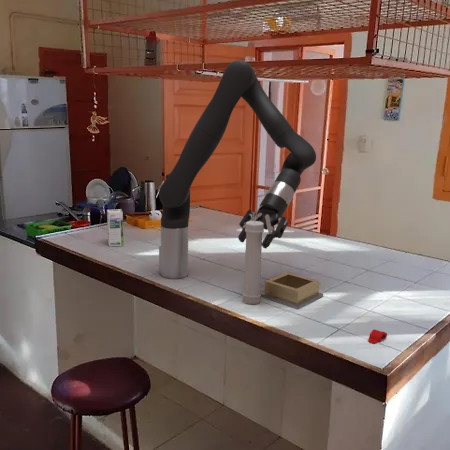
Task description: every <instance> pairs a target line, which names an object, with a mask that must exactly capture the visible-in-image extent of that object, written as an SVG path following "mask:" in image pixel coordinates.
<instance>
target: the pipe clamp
mask: <svg viewBox="0 0 450 450" xmlns="http://www.w3.org/2000/svg"><path fill="white" fill-rule="evenodd" d="M387 336H388V333H387V332H385V331H380V330H378V329H372V330H371V331H370V333H369V336H368V339H367V342H368V343H369V344H370V345H371V344H372V345H377V344H379V343H381V340H382V338H385V339H386V338H387Z"/></svg>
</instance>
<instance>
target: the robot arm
mask: <svg viewBox="0 0 450 450" xmlns="http://www.w3.org/2000/svg"><path fill="white" fill-rule="evenodd" d="M220 78H221V79H220V81H219V83H218V84H217V85H218V86H217V88H216V90H215V92H214V94H213V97H212V98H211V100H210V101H209V103H208V104H207V106H206V107H205V109H204V111H202V114H201V115H200V117H199V118H198V121H197V122H196V124H195V125H194V127H193V129H192V130H191V133H190V134H189V136H188V139H187V140H186V142H185V144H184V147H183V149H182V151H181V153H180V156H179V157H178V160H177V162H176V163H175V165H174V167H173V169H172V170H171V172H170V173H169V175H168V176H167V177H166V179H165V180H164V181H163V183H162V184H161V186H160V187H159V189H158V190H159V191H158V197H159V201H160V203H161V204H162V212H161V217H160V246H159V247H158V274H160V275H161V277H162V278H166V279H172V280H174V279H176V280H177V279H183V278H186V277H187V276H188V275H189V219H190V212H191V211H190V210H191V209H190V208H191V207H190V206H191V187H192V185H193V182H194V180H195V178H197V175H198V174H199V172H200V170H202V168H203V167H204V166H205V165H206V163H208V160H210V158H211V157H212V155H213V154H214V152H215V151H216V149H217V147H218V146H219V144H220V142H221V141H222V139H223V136H224V134H225V132H226V129H227V127H228V124H229V122H230V121H229V120H230V118H231V116H232V113H233V111H234V109H235V107H236V105H237V104H238V102H239V101H240V99H241V98H242V99H243V100H244V101H245V102H246V104H248V106H249V107H250V108H251V110H252V111H253V112H254V114H255V115H256V116H257V119H258V120H259V123H261V124H260V125H262V127H263V128H264V131H265V132H266V133H267V134H268V136H269V137H270V138H271V139H272V141H273V142H274V144H275V145H276V146H277V147H278V148H279V149H280V148H281V149H284V148H285V149H287V150H288V151H289V154H288V155H287V156H286V158H285V160H284V162H283V164H282V166H281V169H280V172H279V174H278V176H277V177H276V178H275V180H274V182H273V183H272V184H271V186H270V187H269V189H268V190H267V192H266V194H265V195H264V197H263V199H262V201H261V202H260V204H259V207H260V206H261V207H260V208H259V207H258V209H259V210H258V209H257V210H258V212H257V211H256V212H257V215H256V212H253V211H252V209H248V210H247V211H246V213H245V214H244V216H243V218H242V219H241V221H240V222H239V223H238V224H239V226H240V228H241V231H240V233H239V235H238V236H237V237H238V240H239V242H240V243H244V242H246V232H245V228H246V222H248V221H260V222H263V223H264V228H263V229H264V230H267V234H266V235H265V237H264V238H263V239H262V249H268V248H269V247H270V245H271V243H272V242H273V240H274V239H276V238H278V239H281V238H282V236H283V235H284V232H285V231H286V228H287V227H288V224H289V221H288V219H287V218H286V216H284V214H285V212H286V211H287V209H288V208H289V205H290V204H291V201H292V200H293V197H294V195H295V193H296V191H297V189H298V188H299V186H300V184H301V181H302V178H301V175H302V174H303V172H305V170H307V169H308V168H310V167H311V166H313V165H314V164H315V163H316V160H317V153H316V150H315V148H314V147H313V146H312V144H311V143H309V142H308V141H307V140H306V139H305V138H304V137H302V136H301V135H300V134H299V133H297V132H296V131H295V130H294V127H293V126H292V125H291V124H290V122H289V121H288V120H287V118H286V117H285V116H284V115H283V113H282V112H281V111H280V110H279V108H278V107H277V106H276V105H275V103H273V101H272V100H271V99H270V97H269V96H268V95H267V93H266V92H265V90H264V88H263V86H262V85H261V82H260V81H259V79H258V77H257V75H256V71H255V70H254V68H253V67H252V66H251V64H250V63H248V62H247V61H246V60H242V59H239V60H238V59H237V60H234V61H232V62H230V63H229V64H228V65H227V66H226V68H225V69H224V71H223V74H222V76H221V77H220ZM255 215H256V219H255ZM275 226H277V227H275Z"/></svg>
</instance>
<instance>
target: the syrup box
mask: <svg viewBox="0 0 450 450" xmlns="http://www.w3.org/2000/svg"><path fill="white" fill-rule="evenodd" d="M123 214H124V213H123V210H122V208H120V209H119V208H118V209H107V210H106V217H107V218H106V220H107V221H106V222H107V225H106V226H107V244H108V246H109V247H123V246H124V216H123Z"/></svg>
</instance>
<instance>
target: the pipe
mask: <svg viewBox="0 0 450 450" xmlns="http://www.w3.org/2000/svg"><path fill="white" fill-rule="evenodd" d="M259 206H260V205H259ZM260 207H261V206H260ZM260 207H258V209H257V211H256V212H255V213H256V215H257V212H258V210H259V208H260ZM256 215H255V219H256ZM264 231H265V229H264V223H263V222H260V221H248V222H246V228H245V232H246V239H245V258H244V281H243V282H244V284H243V288H244V289H243V291H242V302H243V303H245V304H247V305H258V304H259V303H260V302H261V297H260V296H261V293H262V292H260V290H261V289H260V288H261V287H260V286H261V272H262V270H261V269H262V249H263V247H262V242H263V233H264Z"/></svg>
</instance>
